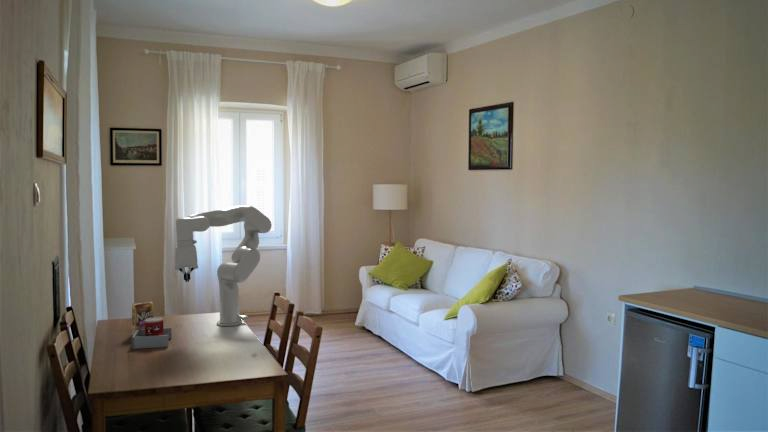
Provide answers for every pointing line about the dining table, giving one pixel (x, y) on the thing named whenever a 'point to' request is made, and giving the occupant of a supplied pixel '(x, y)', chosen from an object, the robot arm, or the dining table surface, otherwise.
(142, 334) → the box
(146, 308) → the candy box
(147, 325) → the canned food
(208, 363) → the dining table surface
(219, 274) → the robot arm
